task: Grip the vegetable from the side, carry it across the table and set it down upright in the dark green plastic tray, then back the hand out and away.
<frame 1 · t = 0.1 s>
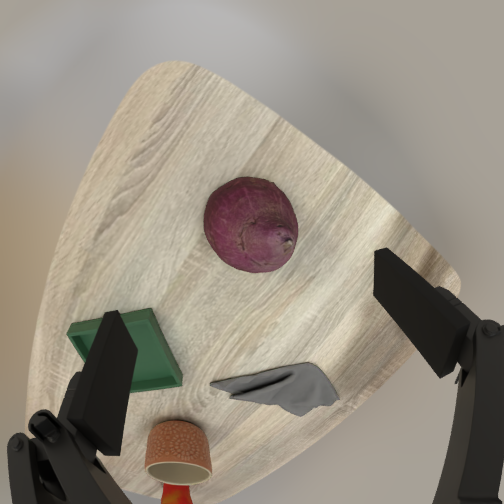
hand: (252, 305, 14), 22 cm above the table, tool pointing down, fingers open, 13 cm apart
cloth: (287, 386, 50), on the table
planter: (178, 428, 52), on the table
vegetable: (246, 217, 36), on the table
apple: (176, 480, 63), on the table
green tray: (127, 351, 42), on the table
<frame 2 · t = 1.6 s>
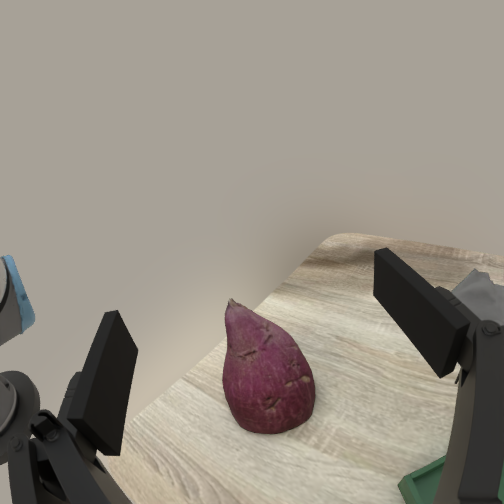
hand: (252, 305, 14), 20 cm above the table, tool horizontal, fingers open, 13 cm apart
cloth: (479, 317, 34), on the table
vegetable: (272, 399, 32), on the table
green tray: (481, 501, 13), on the table
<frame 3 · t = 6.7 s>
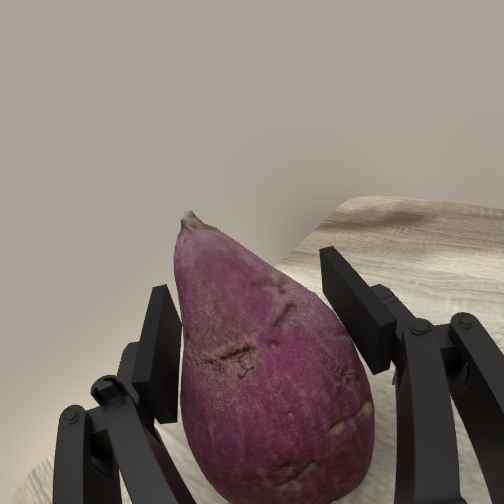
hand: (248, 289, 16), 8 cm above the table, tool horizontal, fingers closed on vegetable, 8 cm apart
vegetable: (287, 441, 15), on the table, touching gripper
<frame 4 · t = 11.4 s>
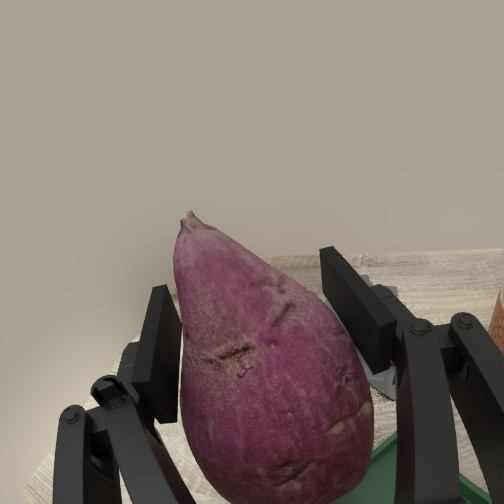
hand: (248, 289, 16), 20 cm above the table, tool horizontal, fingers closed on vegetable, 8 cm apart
cloth: (357, 326, 40), on the table
vegetable: (287, 441, 15), point 12 cm above the table, touching gripper
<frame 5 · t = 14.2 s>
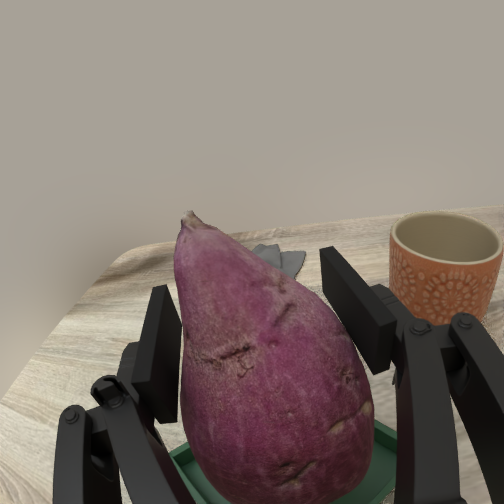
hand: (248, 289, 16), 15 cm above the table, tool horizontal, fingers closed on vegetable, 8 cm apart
cloth: (262, 287, 43), on the table
planter: (434, 321, 29), on the table
vegetable: (287, 441, 15), point 7 cm above the table, touching gripper
green tray: (292, 476, 18), on the table
when the fingers open (9 cm above the table, at t = 16.4 s): vegetable stays where it is, resting on green tray.
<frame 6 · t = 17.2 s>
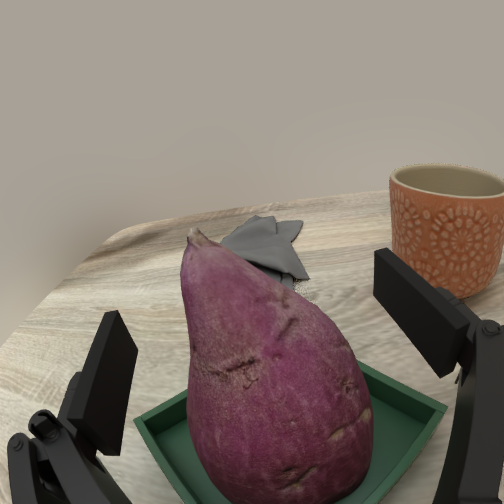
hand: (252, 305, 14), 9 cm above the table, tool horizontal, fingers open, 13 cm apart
cloth: (256, 253, 41), on the table
planter: (442, 281, 27), on the table
vegetable: (289, 445, 15), resting on green tray
green tray: (287, 449, 15), on the table
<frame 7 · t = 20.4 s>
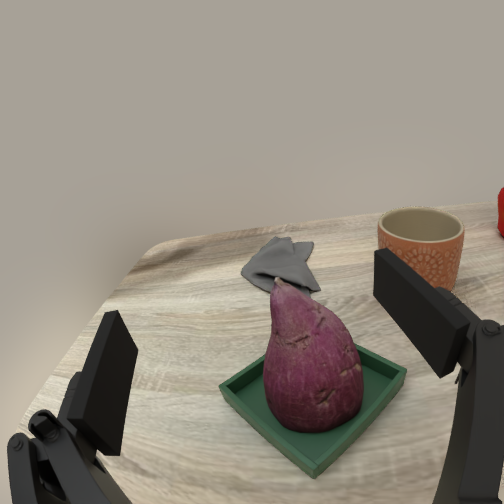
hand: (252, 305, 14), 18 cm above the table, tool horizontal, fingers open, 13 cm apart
cloth: (279, 269, 54), on the table
planter: (416, 291, 40), on the table
vegetable: (315, 394, 28), resting on green tray
green tray: (314, 396, 28), on the table
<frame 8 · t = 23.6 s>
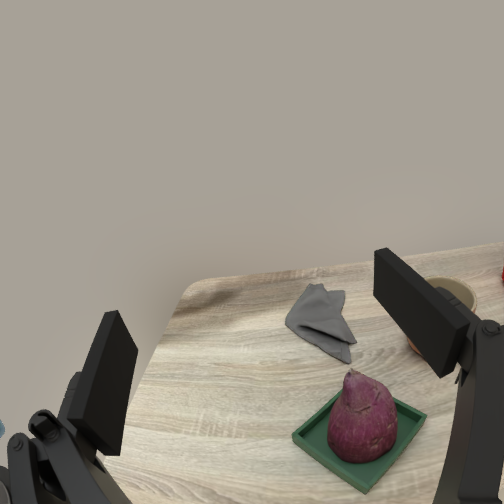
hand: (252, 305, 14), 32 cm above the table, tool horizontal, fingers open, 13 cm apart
cloth: (318, 320, 60), on the table
planter: (432, 344, 46), on the table
vegetable: (361, 434, 34), resting on green tray
green tray: (360, 435, 34), on the table
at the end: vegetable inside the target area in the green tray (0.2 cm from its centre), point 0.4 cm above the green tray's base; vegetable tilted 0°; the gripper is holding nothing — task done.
